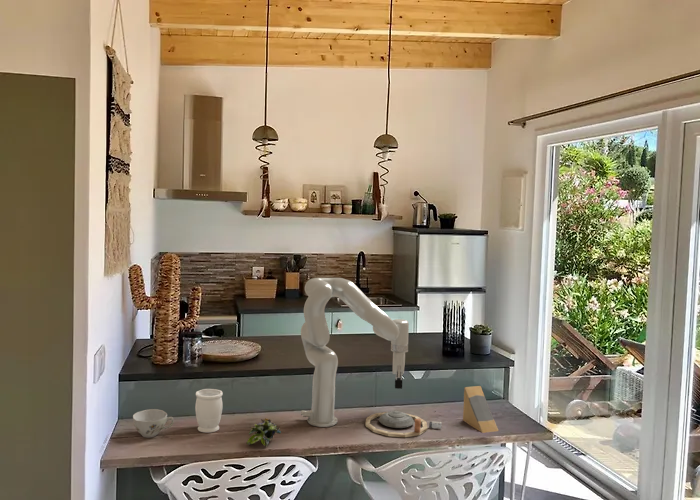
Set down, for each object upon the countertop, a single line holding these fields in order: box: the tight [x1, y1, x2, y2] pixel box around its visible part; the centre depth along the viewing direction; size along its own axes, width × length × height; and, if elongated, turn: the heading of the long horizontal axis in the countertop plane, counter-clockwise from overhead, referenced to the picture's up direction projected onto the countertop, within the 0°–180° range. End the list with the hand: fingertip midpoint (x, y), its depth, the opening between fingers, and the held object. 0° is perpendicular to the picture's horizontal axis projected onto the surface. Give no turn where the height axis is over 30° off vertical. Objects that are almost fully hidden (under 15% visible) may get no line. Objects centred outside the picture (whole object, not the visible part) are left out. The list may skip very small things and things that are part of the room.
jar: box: [194, 388, 223, 434], centre depth 240 cm, size 11×10×15 cm
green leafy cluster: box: [246, 418, 282, 449], centre depth 228 cm, size 11×11×12 cm
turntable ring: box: [365, 411, 428, 438], centre depth 253 cm, size 26×26×6 cm
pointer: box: [428, 420, 443, 430], centre depth 252 cm, size 5×2×2 cm, turn 86°
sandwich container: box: [462, 385, 500, 434], centre depth 257 cm, size 9×15×15 cm, turn 22°
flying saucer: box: [378, 410, 415, 429], centre depth 255 cm, size 15×15×6 cm
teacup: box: [132, 408, 174, 438], centre depth 233 cm, size 15×12×8 cm
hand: (398, 387), depth 268 cm, fingers closed
